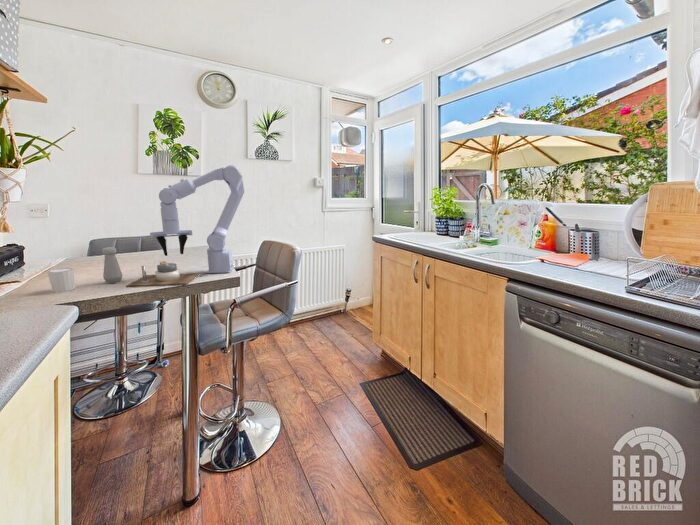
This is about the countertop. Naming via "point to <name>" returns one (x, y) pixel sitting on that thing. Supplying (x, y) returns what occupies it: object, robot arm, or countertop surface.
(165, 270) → the lid
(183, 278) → the board
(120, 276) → the salt shaker
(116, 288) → the countertop surface
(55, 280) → the grey tapered cup
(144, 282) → the stop pin
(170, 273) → the jar
